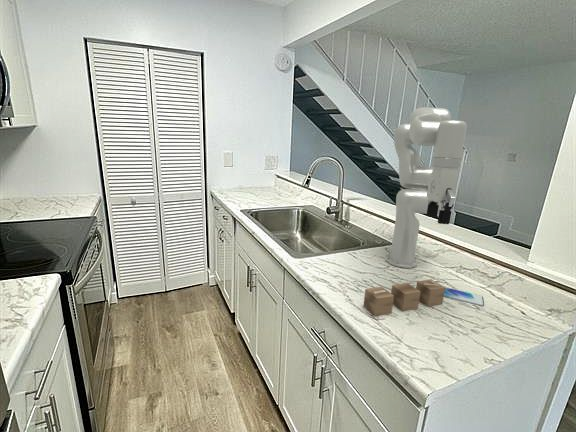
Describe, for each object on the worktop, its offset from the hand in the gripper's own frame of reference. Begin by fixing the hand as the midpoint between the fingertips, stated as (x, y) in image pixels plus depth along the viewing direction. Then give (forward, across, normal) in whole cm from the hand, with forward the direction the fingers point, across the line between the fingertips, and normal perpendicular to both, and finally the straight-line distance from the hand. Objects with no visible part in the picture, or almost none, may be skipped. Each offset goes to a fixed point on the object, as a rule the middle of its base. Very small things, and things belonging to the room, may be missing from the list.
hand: (437, 219), depth 98 cm
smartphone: (+28, -6, +13) cm, 31 cm away
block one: (+28, +8, -16) cm, 33 cm away
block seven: (+28, 0, +2) cm, 28 cm away
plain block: (+28, +4, -8) cm, 29 cm away
